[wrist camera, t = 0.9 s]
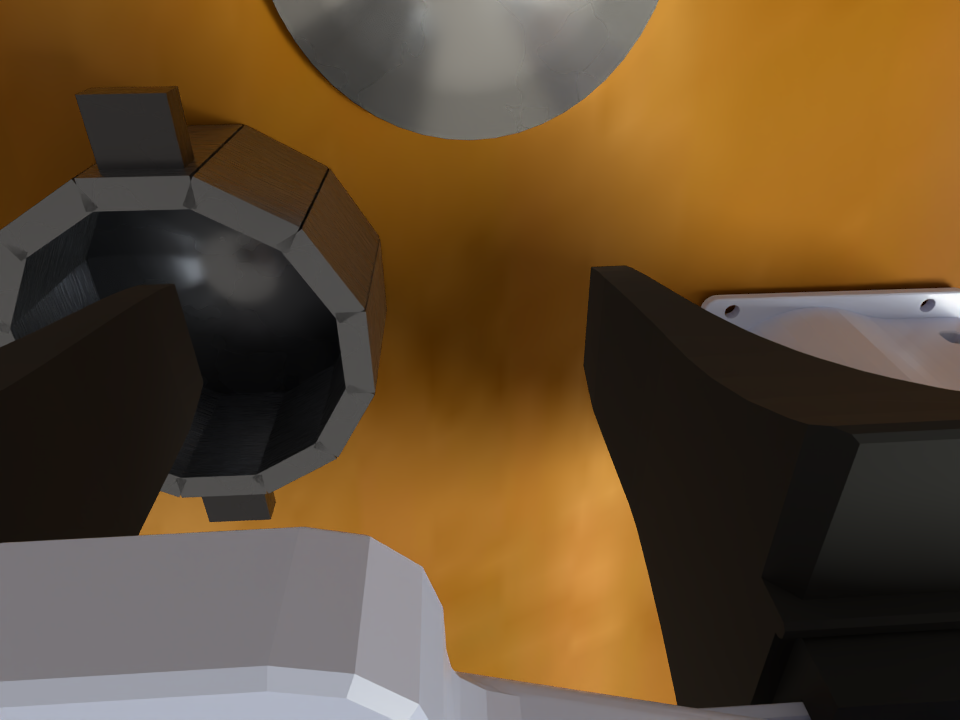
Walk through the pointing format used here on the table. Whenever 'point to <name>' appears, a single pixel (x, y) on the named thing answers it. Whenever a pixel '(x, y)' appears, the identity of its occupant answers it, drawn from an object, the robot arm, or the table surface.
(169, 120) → the pot
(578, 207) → the table surface
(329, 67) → the lid
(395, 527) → the table surface
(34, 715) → the robot arm
